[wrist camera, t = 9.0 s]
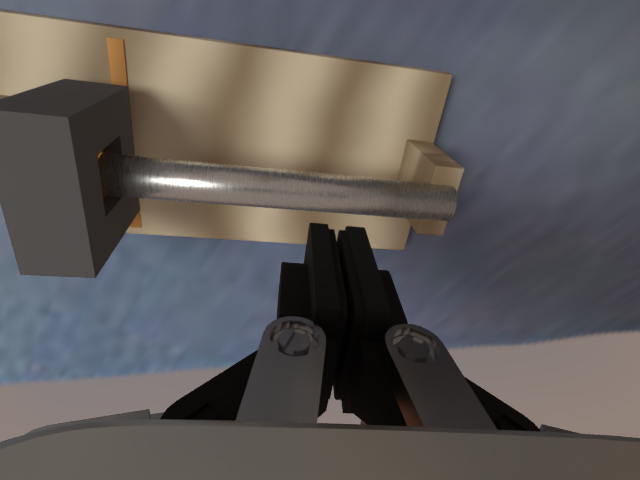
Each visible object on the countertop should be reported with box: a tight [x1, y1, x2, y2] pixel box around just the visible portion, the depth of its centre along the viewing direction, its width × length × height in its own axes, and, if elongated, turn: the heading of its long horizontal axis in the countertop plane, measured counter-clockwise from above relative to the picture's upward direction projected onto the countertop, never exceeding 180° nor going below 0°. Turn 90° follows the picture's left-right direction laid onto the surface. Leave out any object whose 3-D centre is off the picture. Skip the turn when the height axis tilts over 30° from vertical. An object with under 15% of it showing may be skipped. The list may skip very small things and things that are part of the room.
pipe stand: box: [0, 9, 464, 250], centre depth 22 cm, size 25×12×6 cm, turn 82°
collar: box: [0, 79, 140, 278], centre depth 19 cm, size 3×7×7 cm, turn 172°
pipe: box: [97, 150, 457, 221], centre depth 20 cm, size 24×2×2 cm, turn 82°
